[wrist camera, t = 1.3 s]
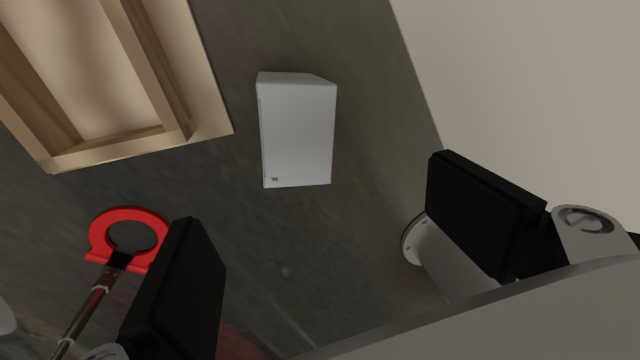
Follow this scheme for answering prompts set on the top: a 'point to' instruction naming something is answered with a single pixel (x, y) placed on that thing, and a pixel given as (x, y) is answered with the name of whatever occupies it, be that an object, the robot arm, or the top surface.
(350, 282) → the top surface
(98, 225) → the tow hook
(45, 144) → the well
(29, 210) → the top surface
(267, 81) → the small box
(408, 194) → the top surface
